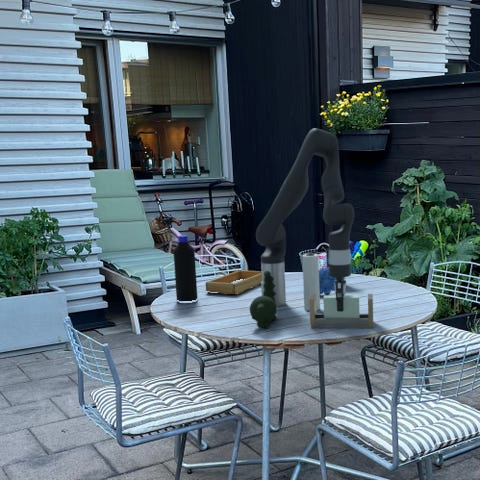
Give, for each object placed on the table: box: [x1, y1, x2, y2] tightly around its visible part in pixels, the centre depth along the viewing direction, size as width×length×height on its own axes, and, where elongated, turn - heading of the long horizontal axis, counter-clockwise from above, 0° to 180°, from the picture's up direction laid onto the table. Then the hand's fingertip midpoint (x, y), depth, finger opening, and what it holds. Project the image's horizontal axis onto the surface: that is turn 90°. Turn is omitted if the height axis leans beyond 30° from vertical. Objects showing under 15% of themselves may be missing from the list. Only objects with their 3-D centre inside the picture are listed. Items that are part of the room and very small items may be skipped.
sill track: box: [309, 293, 374, 329], centre depth 215 cm, size 21×8×10 cm, turn 79°
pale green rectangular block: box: [323, 294, 361, 318], centre depth 215 cm, size 12×4×9 cm, turn 78°
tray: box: [205, 270, 262, 295], centre depth 285 cm, size 31×15×6 cm, turn 151°
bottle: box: [173, 234, 198, 301], centre depth 261 cm, size 9×9×28 cm
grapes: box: [319, 266, 336, 296], centre depth 261 cm, size 12×7×12 cm, turn 78°
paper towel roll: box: [302, 252, 321, 312], centre depth 238 cm, size 7×6×21 cm
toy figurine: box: [249, 271, 278, 329], centre depth 222 cm, size 9×19×25 cm
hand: (340, 308), depth 215 cm, fingers open, 8 cm apart
